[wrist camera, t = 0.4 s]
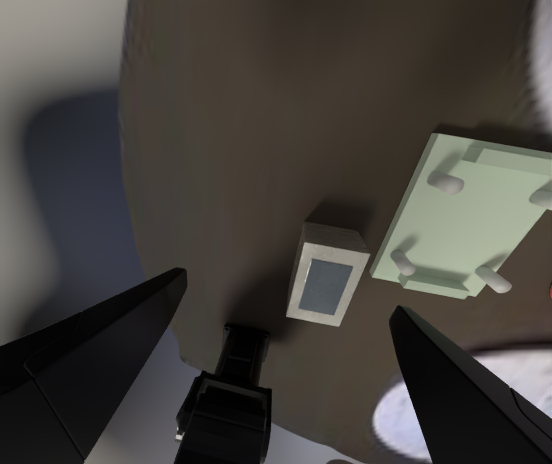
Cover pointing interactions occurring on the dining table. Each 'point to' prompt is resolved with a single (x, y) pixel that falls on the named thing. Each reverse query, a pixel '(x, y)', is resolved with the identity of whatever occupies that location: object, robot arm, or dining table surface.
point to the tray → (464, 216)
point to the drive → (325, 273)
